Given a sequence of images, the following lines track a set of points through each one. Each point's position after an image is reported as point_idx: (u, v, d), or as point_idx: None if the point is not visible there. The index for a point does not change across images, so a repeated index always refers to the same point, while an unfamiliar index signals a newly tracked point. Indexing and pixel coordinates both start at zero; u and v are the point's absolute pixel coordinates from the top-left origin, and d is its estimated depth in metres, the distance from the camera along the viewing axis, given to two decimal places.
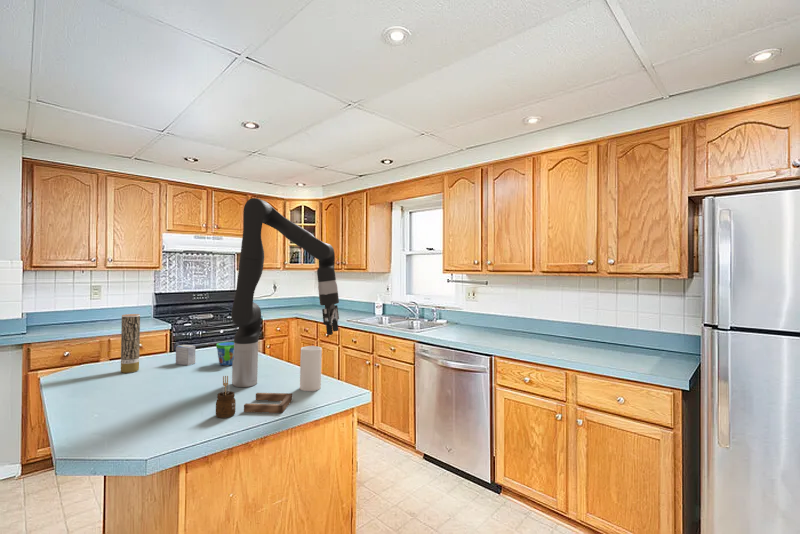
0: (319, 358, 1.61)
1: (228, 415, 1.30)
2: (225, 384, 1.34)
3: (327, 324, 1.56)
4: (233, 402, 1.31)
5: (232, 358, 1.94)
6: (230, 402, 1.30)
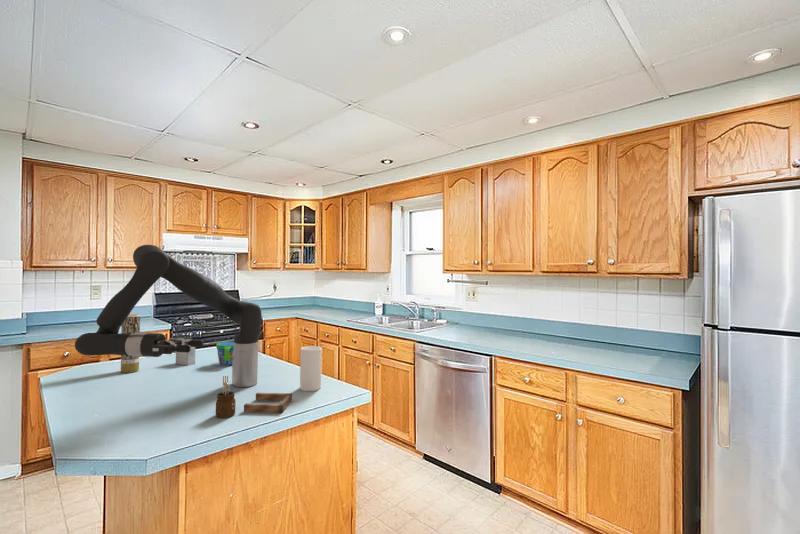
0: (319, 358, 1.61)
1: (228, 415, 1.30)
2: (225, 384, 1.34)
3: None
4: (233, 402, 1.31)
5: (232, 358, 1.94)
6: (230, 402, 1.30)
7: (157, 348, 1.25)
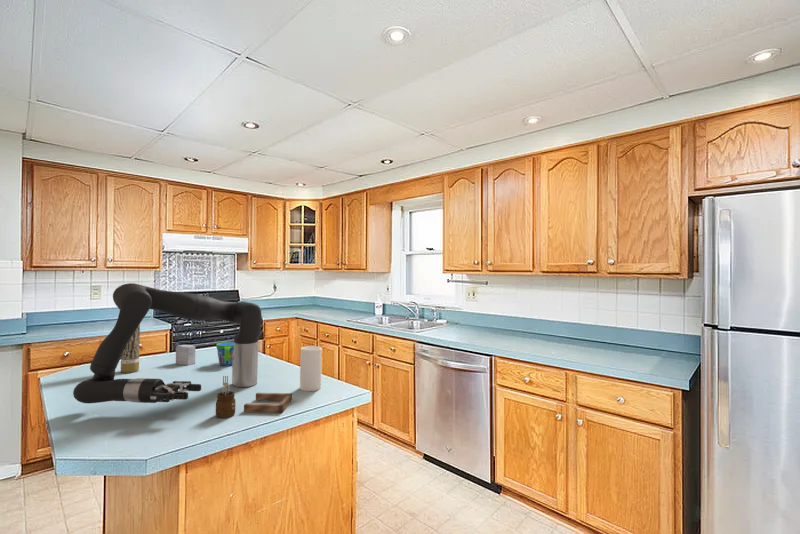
0: (319, 358, 1.61)
1: (228, 415, 1.30)
2: (225, 384, 1.34)
3: None
4: (233, 402, 1.31)
5: (232, 358, 1.94)
6: (230, 402, 1.30)
7: (155, 396, 1.25)
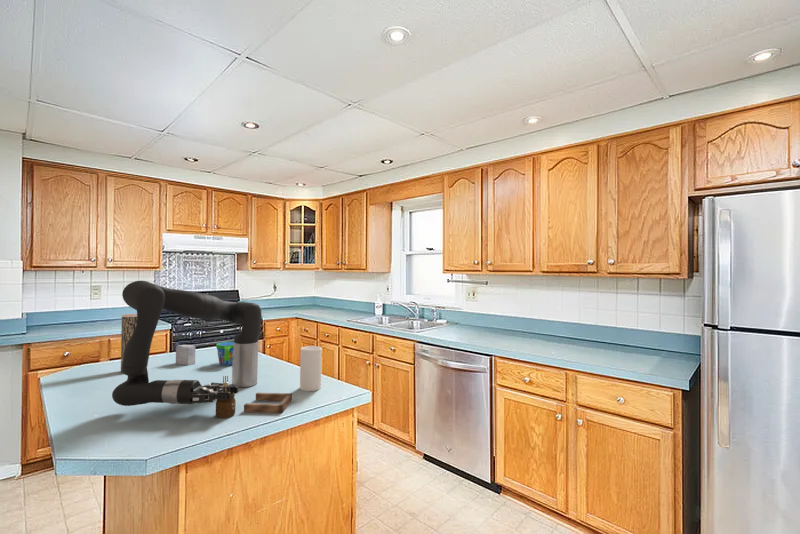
0: (319, 358, 1.61)
1: (228, 415, 1.30)
2: (225, 384, 1.34)
3: None
4: (233, 402, 1.31)
5: (232, 358, 1.94)
6: (230, 402, 1.30)
7: (198, 397, 1.26)
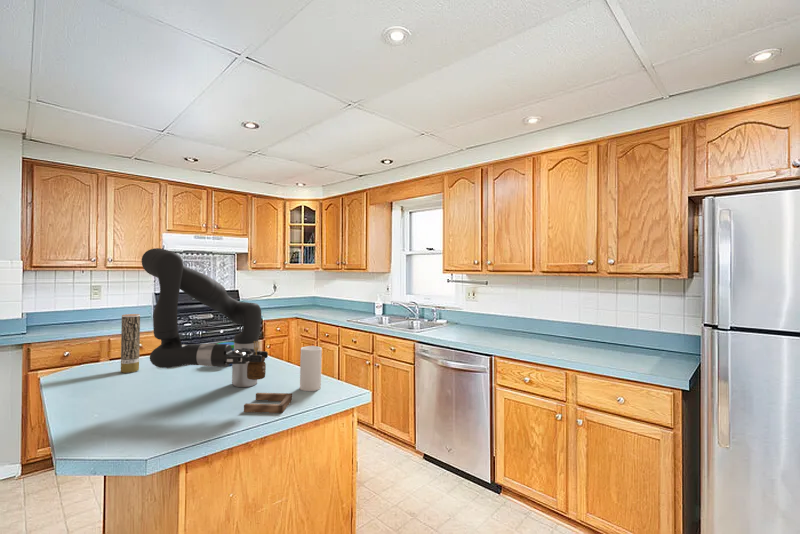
0: (319, 358, 1.61)
1: (259, 377, 1.36)
2: (256, 349, 1.40)
3: None
4: (264, 365, 1.38)
5: None
6: (261, 365, 1.37)
7: (232, 359, 1.32)
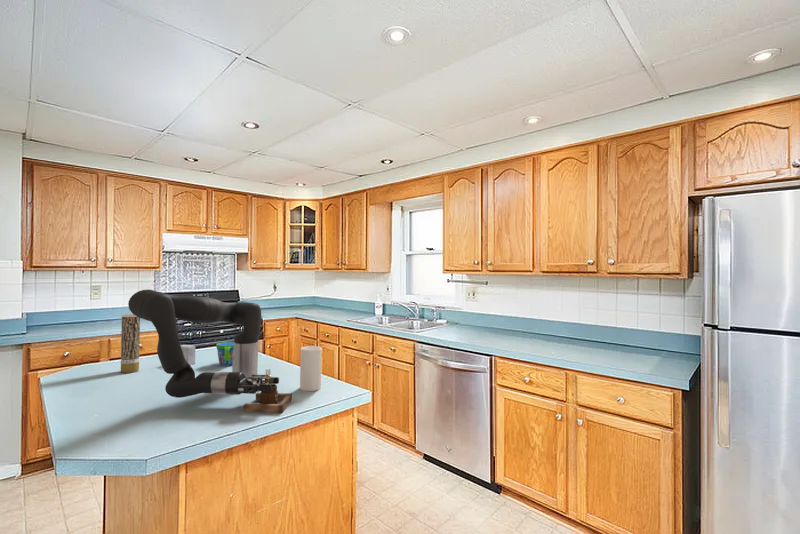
0: (319, 358, 1.61)
1: None
2: (268, 377, 1.43)
3: None
4: (276, 394, 1.41)
5: (232, 358, 1.94)
6: (274, 394, 1.40)
7: (242, 388, 1.34)
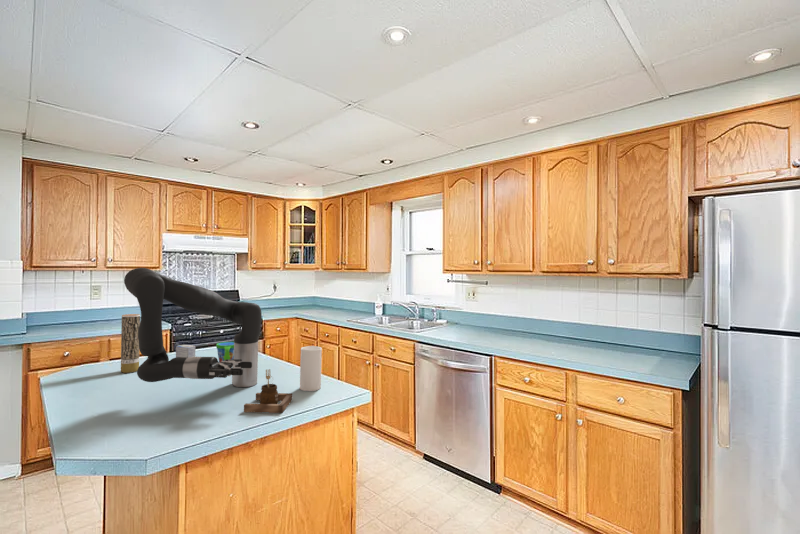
0: (319, 358, 1.61)
1: None
2: (268, 377, 1.43)
3: None
4: (276, 394, 1.41)
5: (232, 358, 1.94)
6: (274, 394, 1.40)
7: (213, 372, 1.35)
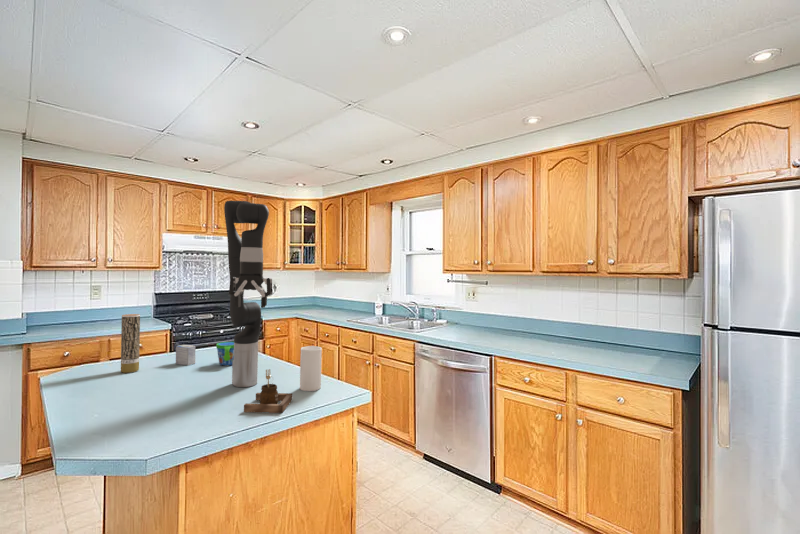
0: (319, 358, 1.61)
1: None
2: (268, 377, 1.43)
3: None
4: (276, 394, 1.41)
5: (232, 358, 1.94)
6: (274, 394, 1.40)
7: (271, 282, 1.42)
